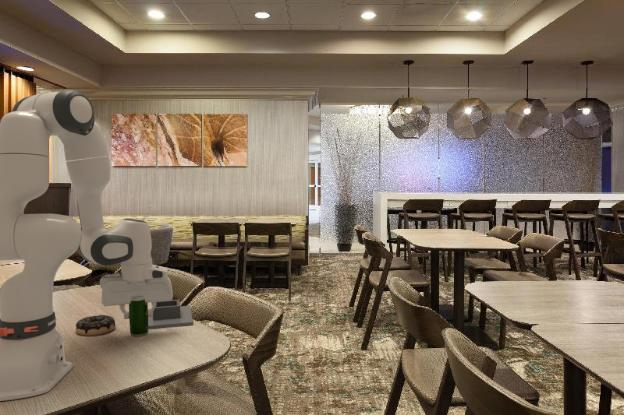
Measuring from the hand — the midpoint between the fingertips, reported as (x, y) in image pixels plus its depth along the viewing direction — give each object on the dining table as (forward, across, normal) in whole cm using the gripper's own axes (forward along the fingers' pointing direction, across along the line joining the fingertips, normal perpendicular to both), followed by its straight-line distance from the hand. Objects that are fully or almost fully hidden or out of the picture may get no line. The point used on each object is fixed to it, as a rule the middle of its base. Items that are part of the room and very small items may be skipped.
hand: (138, 317), depth 146 cm
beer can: (+5, 0, 0) cm, 5 cm away
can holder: (+5, +8, +14) cm, 17 cm away
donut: (+6, -13, +8) cm, 16 cm away
